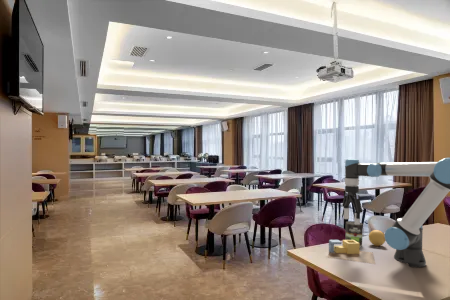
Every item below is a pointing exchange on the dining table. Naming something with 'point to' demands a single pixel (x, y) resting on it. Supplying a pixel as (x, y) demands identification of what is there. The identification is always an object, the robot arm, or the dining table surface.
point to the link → (348, 247)
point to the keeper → (331, 245)
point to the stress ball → (377, 237)
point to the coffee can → (354, 231)
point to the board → (354, 257)
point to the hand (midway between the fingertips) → (351, 221)
